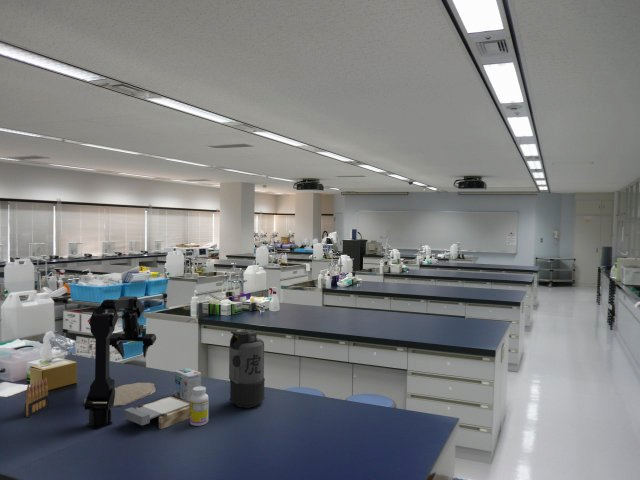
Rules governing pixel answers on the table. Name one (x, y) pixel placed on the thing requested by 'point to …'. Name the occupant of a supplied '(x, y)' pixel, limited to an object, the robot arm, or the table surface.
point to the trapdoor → (153, 410)
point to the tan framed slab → (172, 415)
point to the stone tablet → (131, 393)
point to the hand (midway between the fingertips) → (134, 356)
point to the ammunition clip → (36, 398)
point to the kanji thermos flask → (246, 369)
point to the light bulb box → (186, 383)
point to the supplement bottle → (199, 406)
